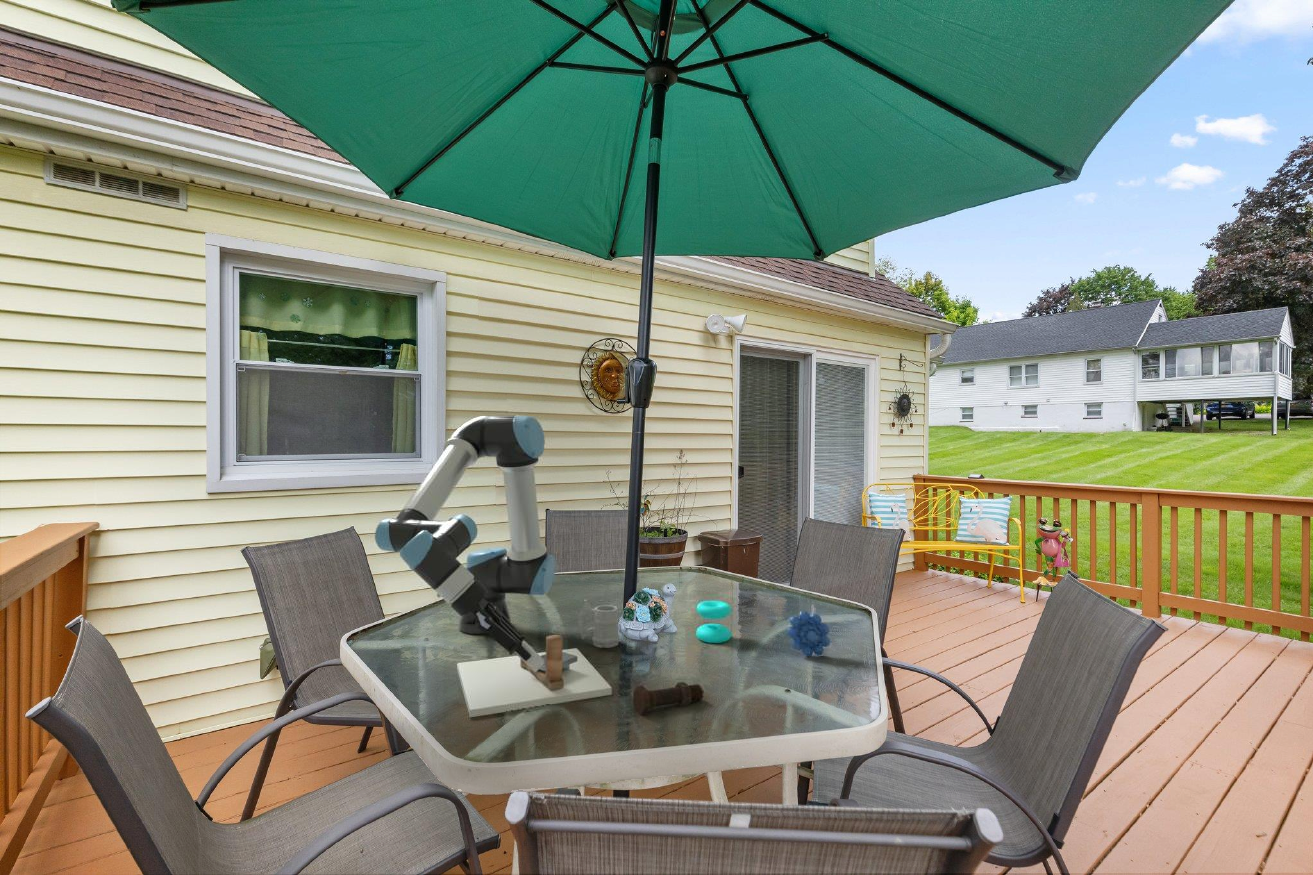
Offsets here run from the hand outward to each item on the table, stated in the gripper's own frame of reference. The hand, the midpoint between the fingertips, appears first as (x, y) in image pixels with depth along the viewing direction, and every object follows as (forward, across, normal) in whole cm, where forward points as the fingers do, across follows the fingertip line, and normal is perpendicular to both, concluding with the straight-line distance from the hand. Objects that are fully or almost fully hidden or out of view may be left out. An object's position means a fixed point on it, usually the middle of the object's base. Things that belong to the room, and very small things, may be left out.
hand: (539, 666), depth 130 cm
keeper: (+7, -9, -3) cm, 11 cm away
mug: (+15, -34, +6) cm, 37 cm away
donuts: (+39, -34, +29) cm, 59 cm away
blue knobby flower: (+53, -16, +44) cm, 71 cm away
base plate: (+3, -9, -6) cm, 11 cm away
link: (+3, -8, -3) cm, 9 cm away
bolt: (+24, +9, +15) cm, 30 cm away
